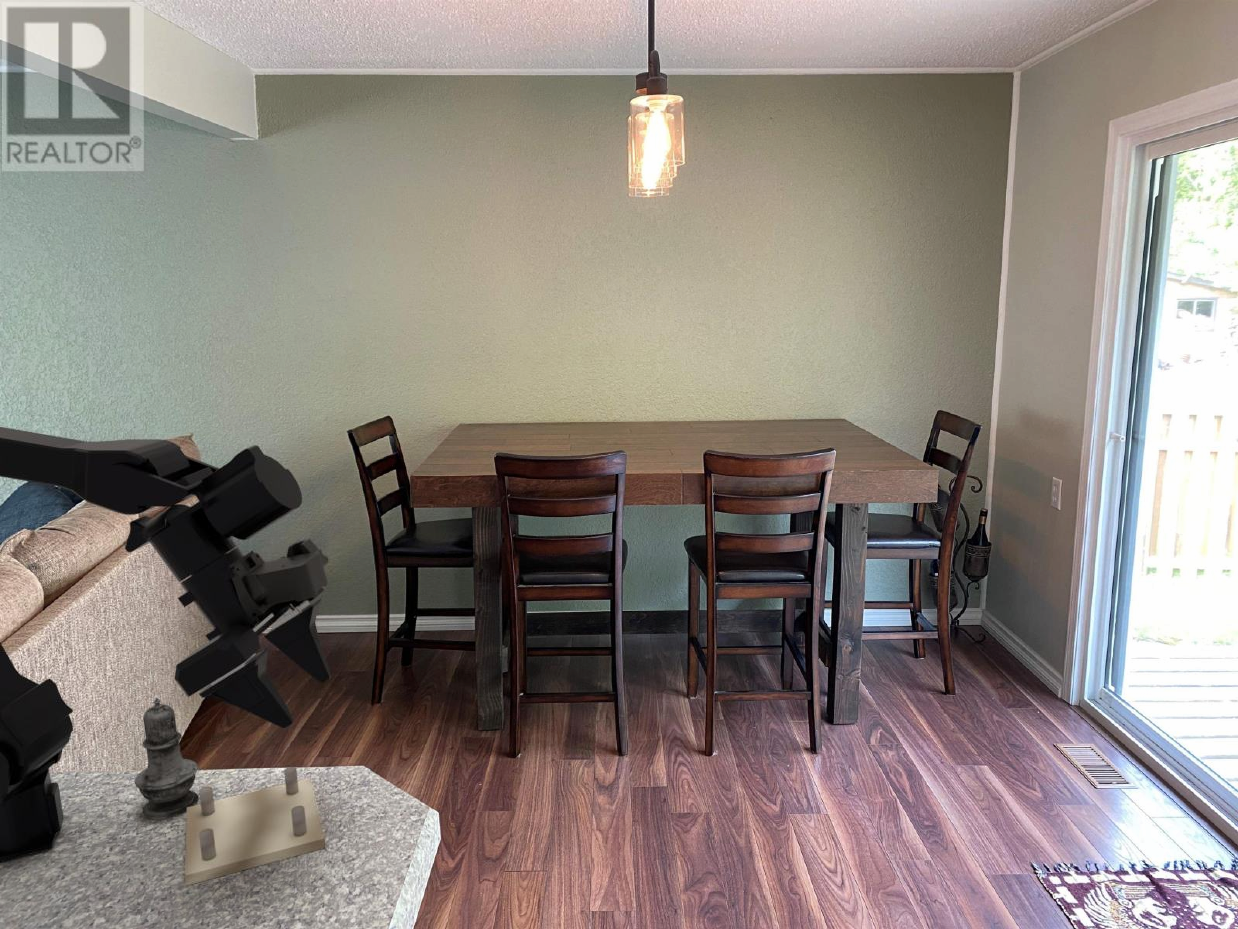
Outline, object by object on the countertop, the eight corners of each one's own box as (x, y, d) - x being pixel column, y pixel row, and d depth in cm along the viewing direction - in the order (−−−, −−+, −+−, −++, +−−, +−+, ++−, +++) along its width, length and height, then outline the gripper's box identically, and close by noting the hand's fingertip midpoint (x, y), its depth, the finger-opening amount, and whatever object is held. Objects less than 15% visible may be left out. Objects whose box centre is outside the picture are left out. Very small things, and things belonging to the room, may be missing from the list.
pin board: (186, 885, 79) (181, 850, 78) (187, 816, 90) (183, 785, 89) (325, 847, 84) (322, 814, 83) (311, 786, 95) (308, 756, 94)
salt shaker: (175, 824, 88) (160, 714, 86) (125, 818, 90) (109, 709, 87) (213, 792, 94) (201, 687, 92) (166, 786, 95) (152, 683, 93)
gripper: (231, 549, 70) (344, 706, 72) (318, 496, 88) (406, 622, 90) (122, 618, 71) (237, 770, 73) (230, 552, 89) (319, 675, 92)
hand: (308, 701), depth 82 cm, fingers open, 9 cm apart
